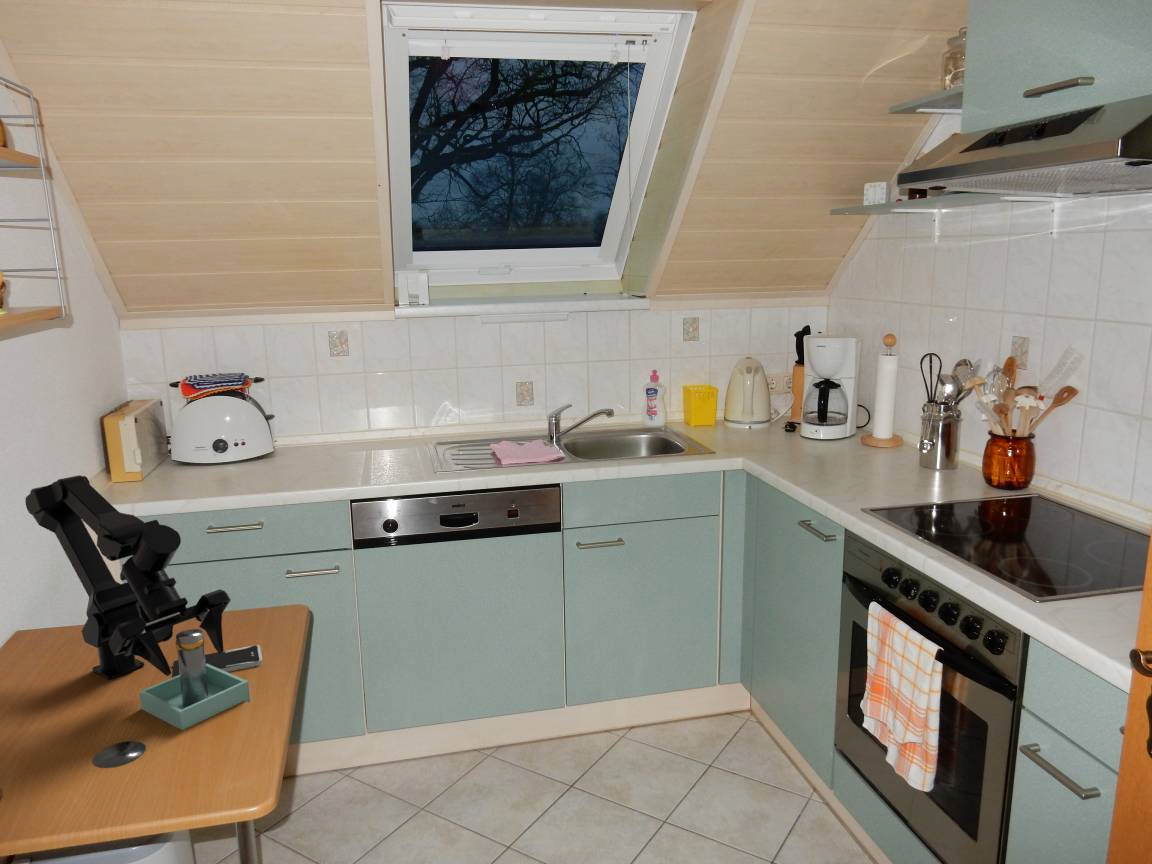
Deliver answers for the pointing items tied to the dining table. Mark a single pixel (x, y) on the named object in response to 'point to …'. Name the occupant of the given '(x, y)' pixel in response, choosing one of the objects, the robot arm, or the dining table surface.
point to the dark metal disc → (119, 754)
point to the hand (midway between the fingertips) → (196, 663)
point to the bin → (222, 696)
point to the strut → (192, 666)
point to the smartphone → (231, 659)
